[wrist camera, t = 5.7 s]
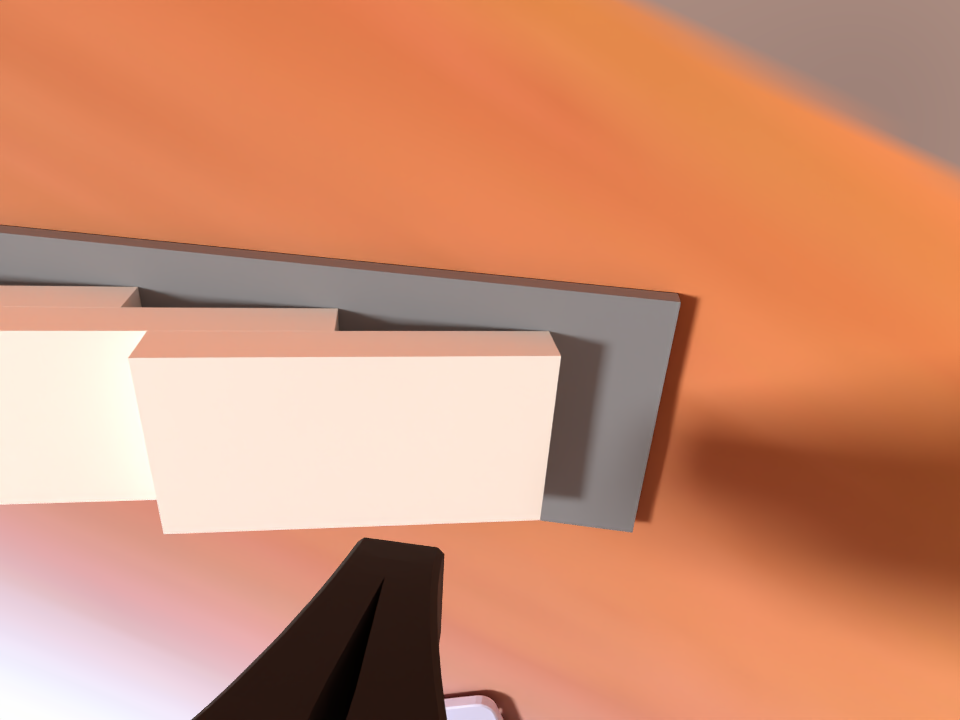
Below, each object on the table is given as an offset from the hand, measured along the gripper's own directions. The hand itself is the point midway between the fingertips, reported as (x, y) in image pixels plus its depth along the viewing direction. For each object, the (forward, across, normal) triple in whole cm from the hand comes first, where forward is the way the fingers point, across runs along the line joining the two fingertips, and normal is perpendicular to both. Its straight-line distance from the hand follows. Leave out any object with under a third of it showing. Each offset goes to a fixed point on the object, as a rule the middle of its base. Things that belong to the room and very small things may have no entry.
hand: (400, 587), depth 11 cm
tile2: (+5, +3, 0) cm, 6 cm away
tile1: (+5, -2, 0) cm, 6 cm away
